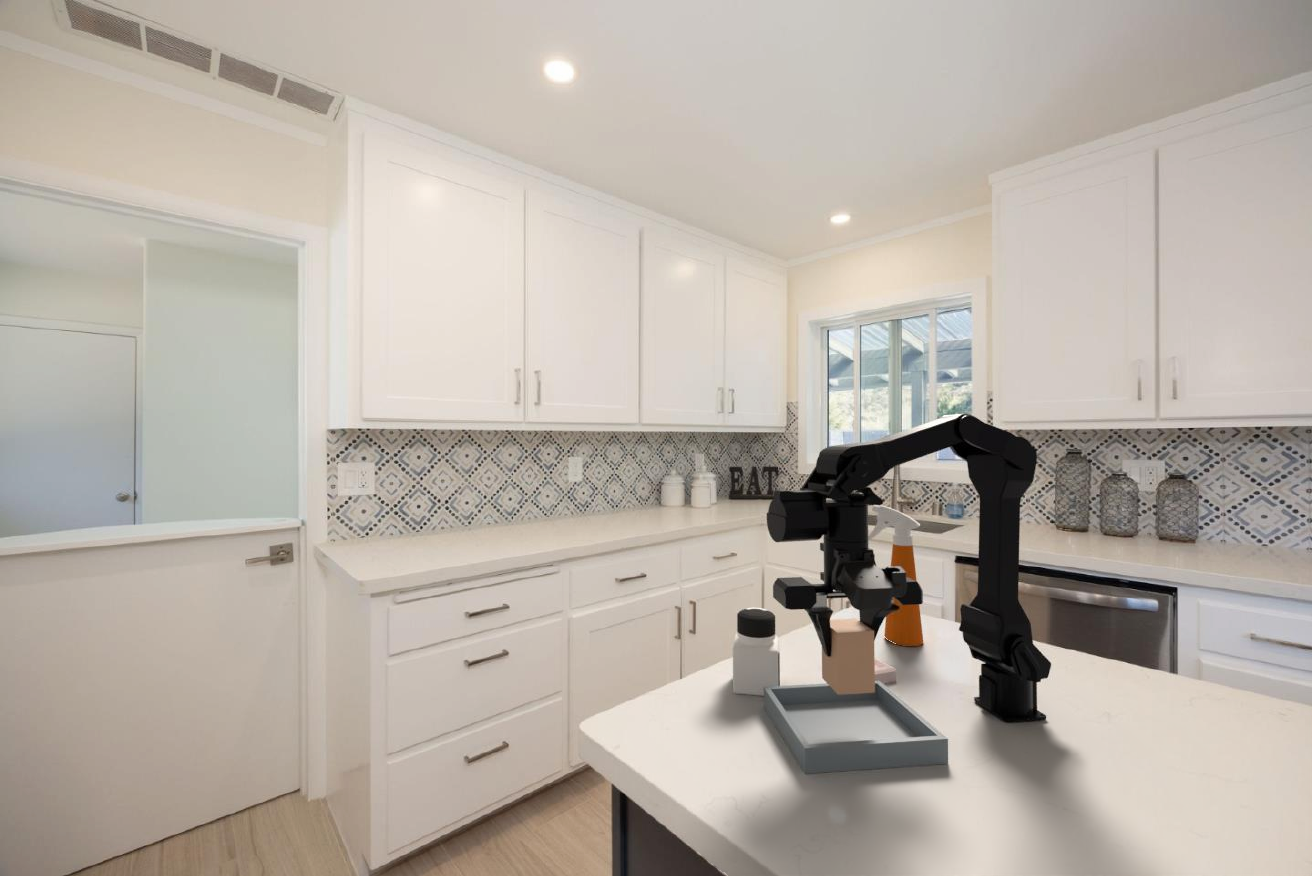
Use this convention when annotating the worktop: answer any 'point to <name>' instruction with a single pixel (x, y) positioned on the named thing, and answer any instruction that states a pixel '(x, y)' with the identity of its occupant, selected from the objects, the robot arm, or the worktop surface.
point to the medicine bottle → (755, 652)
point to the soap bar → (884, 672)
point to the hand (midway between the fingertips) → (847, 654)
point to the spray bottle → (907, 619)
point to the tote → (852, 729)
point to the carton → (850, 658)
